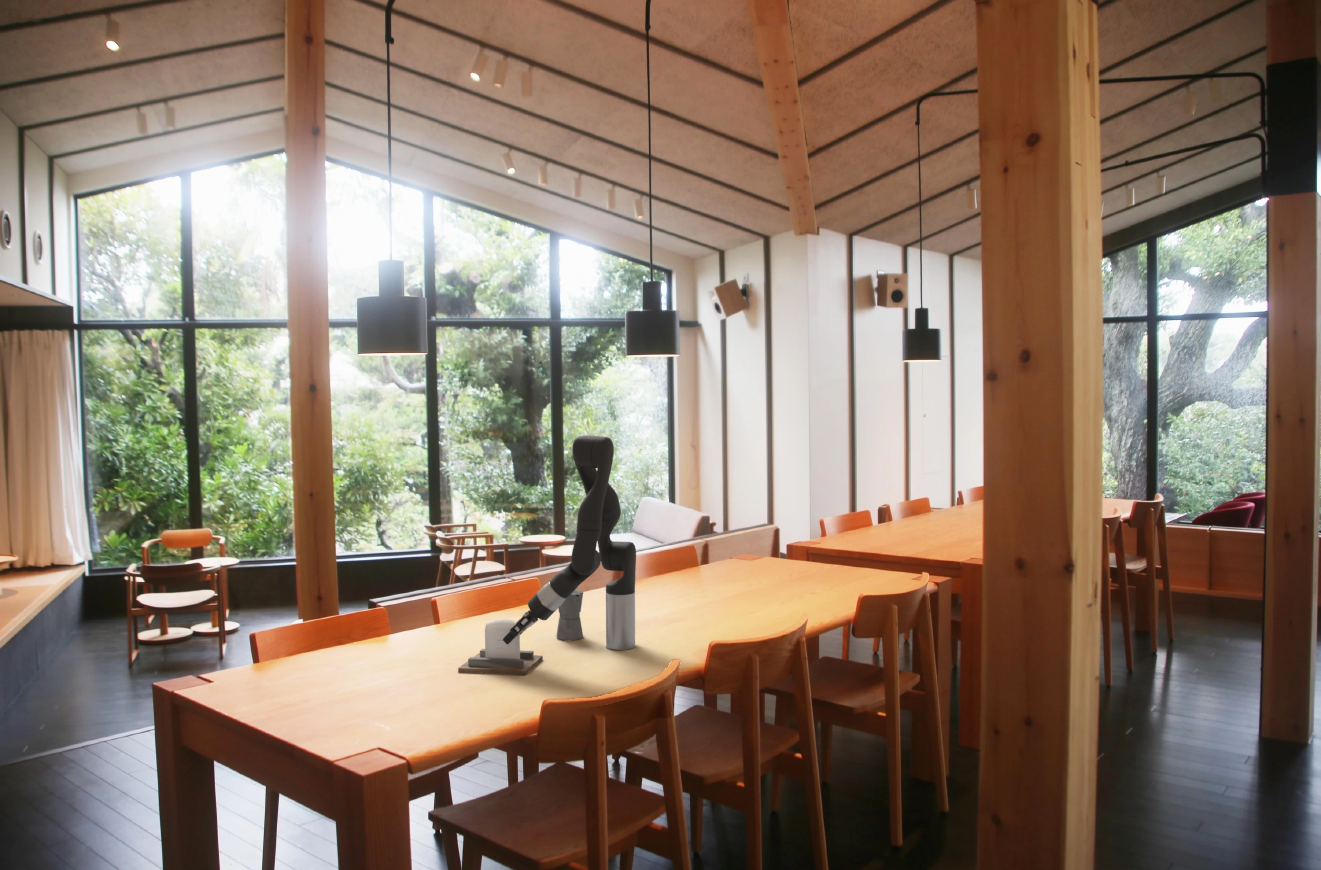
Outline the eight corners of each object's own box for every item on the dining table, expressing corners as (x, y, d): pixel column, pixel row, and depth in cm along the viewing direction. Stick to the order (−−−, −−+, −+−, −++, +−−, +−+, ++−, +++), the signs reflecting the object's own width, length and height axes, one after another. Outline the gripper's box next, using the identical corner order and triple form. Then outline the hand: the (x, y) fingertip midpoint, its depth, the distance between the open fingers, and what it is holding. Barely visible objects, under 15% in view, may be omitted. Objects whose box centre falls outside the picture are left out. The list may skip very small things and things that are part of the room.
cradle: (479, 656, 262) (479, 646, 262) (542, 659, 259) (542, 648, 259) (458, 672, 246) (458, 660, 246) (525, 675, 243) (525, 663, 243)
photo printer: (483, 663, 251) (482, 620, 251) (487, 659, 255) (487, 617, 255) (518, 663, 250) (517, 621, 250) (521, 659, 255) (521, 617, 254)
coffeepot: (591, 639, 283) (591, 584, 282) (566, 643, 277) (565, 587, 277) (570, 629, 296) (569, 577, 295) (545, 633, 290) (544, 580, 290)
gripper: (546, 586, 257) (510, 623, 260) (530, 595, 243) (492, 634, 246) (563, 604, 257) (527, 641, 259) (549, 615, 243) (510, 654, 245)
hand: (510, 638), depth 252 cm, fingers open, 8 cm apart
